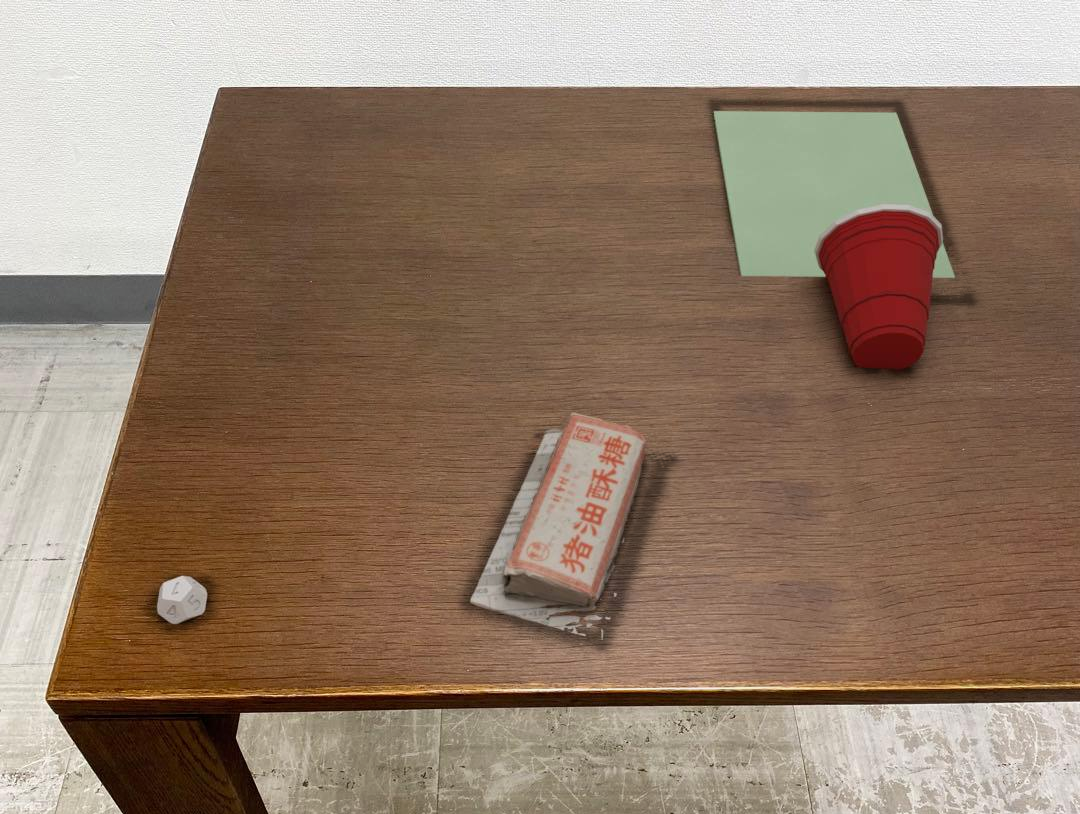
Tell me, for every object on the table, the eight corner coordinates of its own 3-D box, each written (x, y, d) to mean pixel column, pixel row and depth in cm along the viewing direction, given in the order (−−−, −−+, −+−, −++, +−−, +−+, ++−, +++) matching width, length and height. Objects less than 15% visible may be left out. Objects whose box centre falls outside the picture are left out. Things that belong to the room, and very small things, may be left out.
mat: (895, 115, 113) (896, 112, 113) (965, 312, 94) (966, 308, 94) (713, 114, 113) (713, 110, 113) (745, 310, 94) (746, 306, 94)
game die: (220, 594, 75) (209, 570, 73) (202, 637, 73) (190, 614, 71) (174, 587, 76) (162, 564, 73) (154, 630, 73) (141, 607, 71)
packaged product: (547, 396, 81) (671, 426, 79) (547, 438, 85) (664, 467, 83) (465, 576, 70) (605, 615, 69) (469, 614, 74) (601, 652, 73)
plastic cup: (822, 316, 82) (815, 202, 87) (818, 392, 92) (812, 286, 97) (967, 305, 80) (951, 189, 85) (947, 385, 89) (934, 277, 94)
